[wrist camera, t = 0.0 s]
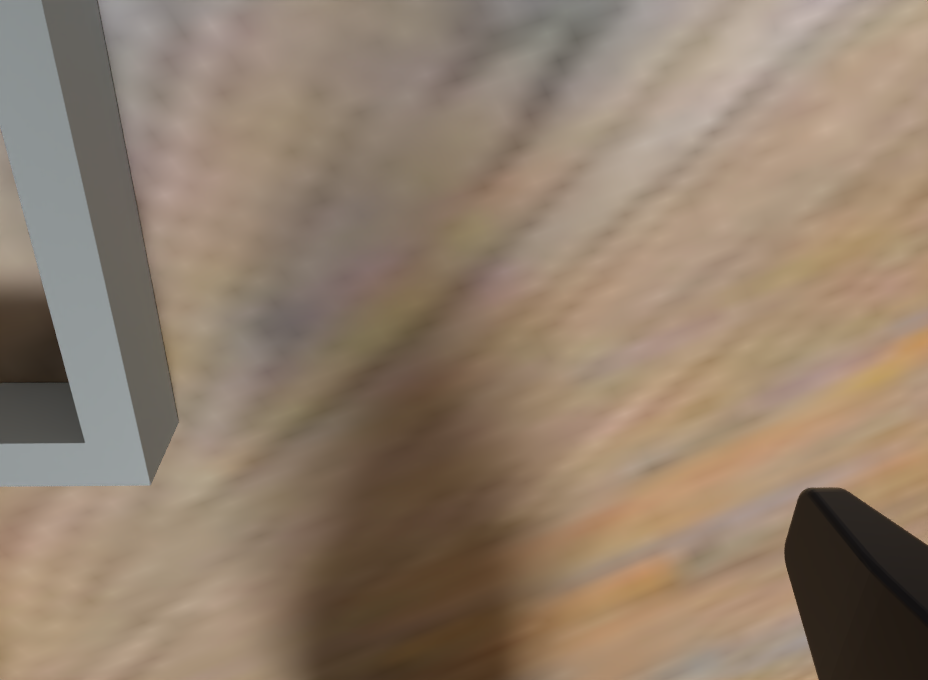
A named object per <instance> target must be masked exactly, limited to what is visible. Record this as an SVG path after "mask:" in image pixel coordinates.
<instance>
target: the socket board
mask: <svg viewBox="0 0 928 680" xmlns="http://www.w3.org/2000/svg"><path fill="white" fill-rule="evenodd" d="M0 127H1V131H2V135H3V138H4V142H5V146H6V150H7V153H8V157H9V161H10V164H11V168H12V172H13V176H14V179H15V183H16V187H17V191H18V194H19V198H20V202H21V206H22V209H23V213H24V217H25V220H26V224H27V228H28V232H29V235H30V239H31V243H32V247H33V250H34V254H35V258H36V262H37V265H38V269H39V273H40V276H41V280H42V284H43V288H44V291H45V295H46V299H47V303H48V306H49V310H50V314H51V318H52V321H53V325H54V329H55V332H56V336H57V340H58V344H59V347H60V351H61V355H62V359H63V362H64V366H65V370H66V373H67V377H68V381H69V383H0V486H129V485H151V483H152V481H153V479H154V476H155V474H156V472H157V470H158V467H159V465H160V463H161V461H162V458H163V456H164V454H165V452H166V449H167V447H168V445H169V443H170V441H171V438H172V436H173V434H174V432H175V429H176V427H177V425H178V423H179V422H178V417H177V412H176V406H175V401H174V396H173V391H172V386H171V381H170V375H169V370H168V365H167V360H166V355H165V349H164V344H163V339H162V334H161V329H160V324H159V318H158V313H157V308H156V303H155V298H154V293H153V287H152V282H151V277H150V272H149V267H148V262H147V256H146V251H145V246H144V241H143V236H142V231H141V225H140V220H139V215H138V210H137V205H136V200H135V194H134V189H133V184H132V179H131V174H130V169H129V163H128V158H127V153H126V148H125V143H124V138H123V132H122V127H121V122H120V117H119V112H118V107H117V101H116V96H115V91H114V86H113V81H112V76H111V70H110V65H109V60H108V55H107V50H106V45H105V39H104V34H103V29H102V24H101V19H100V14H99V8H98V3H97V0H0Z"/></svg>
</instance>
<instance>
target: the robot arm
mask: <svg viewBox="0 0 928 680" xmlns="http://www.w3.org/2000/svg"><path fill="white" fill-rule="evenodd" d="M784 554H785V563H786V567H787V571H788V575H789V578H790V581H791V585H792V588H793V592H794V595H795V599H796V602H797V606H798V609H799V613H800V616H801V620H802V623H803V627H804V630H805V634H806V637H807V641H808V644H809V648H810V651H811V655H812V658H813V662H814V665H815V669H816V672H817V675H818V679H819V680H928V545H927V544H925V543H924V542H922V541H921V540H919V539H918V538H916V537H915V536H913V535H912V534H910V533H909V532H907V531H906V530H904V529H903V528H901V527H900V526H899V525H897V524H896V523H894V522H893V521H891V520H890V519H888V518H887V517H885V516H884V515H882V514H881V513H879V512H878V511H876V510H875V509H873V508H872V507H870V506H869V505H868V504H866V503H865V502H863V501H862V500H860V499H859V498H857V497H856V496H854V495H853V494H851V493H850V492H848V491H846V490H845V489H842V488H808V489H805V490H803V491H802V493H801V494H800V495H799V498H798V500H797V504H796V507H795V511H794V514H793V517H792V521H791V524H790V528H789V531H788V535H787V538H786V542H785V550H784Z"/></svg>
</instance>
